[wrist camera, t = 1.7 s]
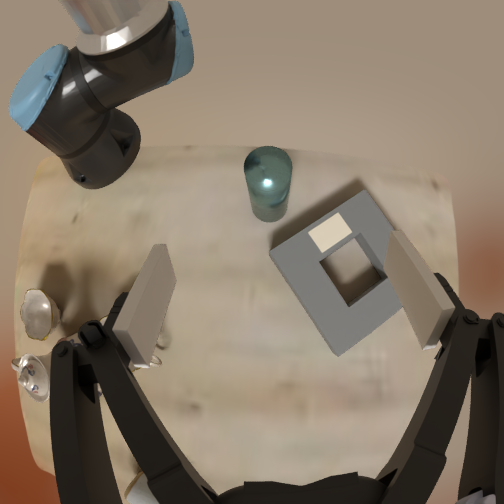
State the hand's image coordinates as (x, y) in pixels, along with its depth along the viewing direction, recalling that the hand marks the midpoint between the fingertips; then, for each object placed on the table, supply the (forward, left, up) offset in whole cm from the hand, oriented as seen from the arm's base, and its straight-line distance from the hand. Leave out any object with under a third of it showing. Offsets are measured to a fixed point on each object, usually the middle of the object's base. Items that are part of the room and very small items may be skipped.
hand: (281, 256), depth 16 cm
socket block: (+4, +9, -22) cm, 25 cm away
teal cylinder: (-10, +5, -23) cm, 25 cm away
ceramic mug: (+20, -35, -23) cm, 47 cm away
